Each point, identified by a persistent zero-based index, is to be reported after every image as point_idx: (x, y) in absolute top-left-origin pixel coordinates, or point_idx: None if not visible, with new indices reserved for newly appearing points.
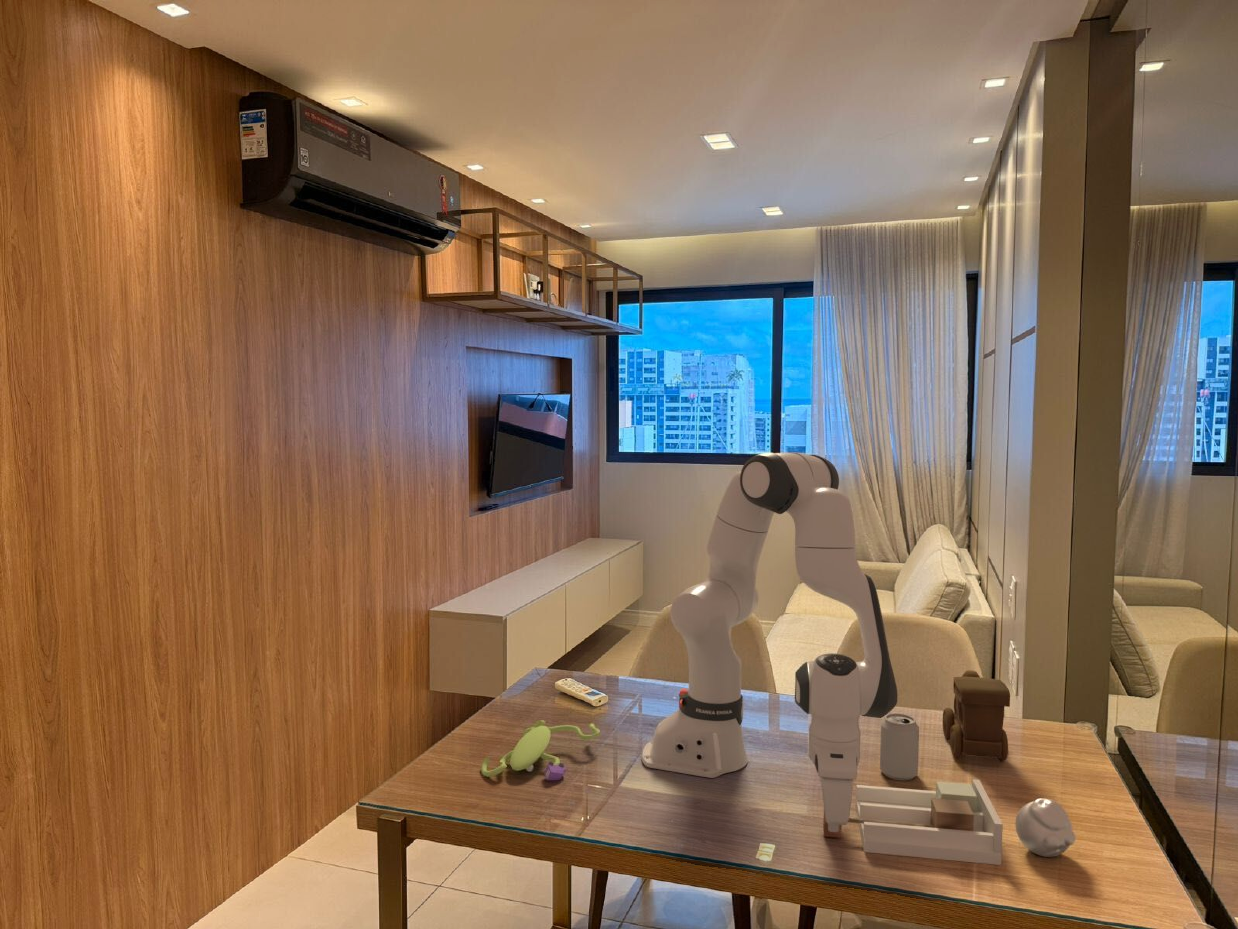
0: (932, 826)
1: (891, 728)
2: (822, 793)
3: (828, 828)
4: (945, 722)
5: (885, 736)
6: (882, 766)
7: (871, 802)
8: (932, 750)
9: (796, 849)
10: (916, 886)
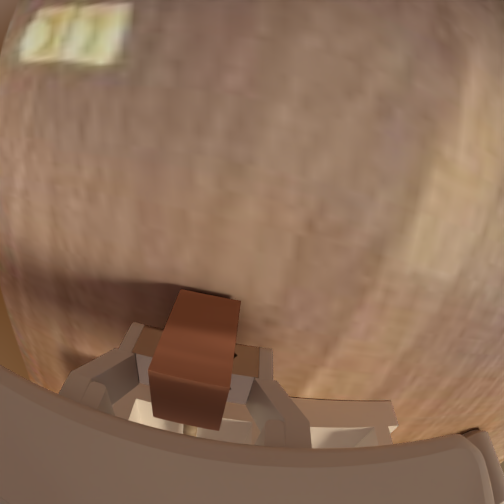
0: None
1: None
2: (163, 457)
3: (130, 327)
4: None
5: None
6: (474, 443)
7: (347, 447)
8: None
9: (81, 155)
10: (36, 382)
